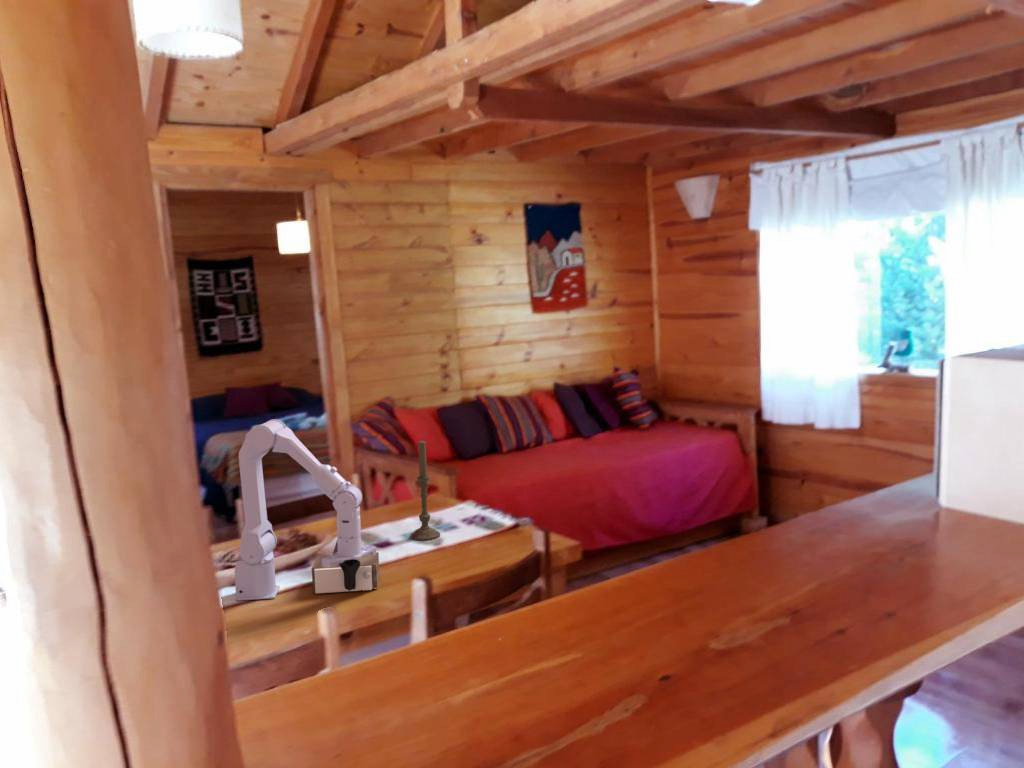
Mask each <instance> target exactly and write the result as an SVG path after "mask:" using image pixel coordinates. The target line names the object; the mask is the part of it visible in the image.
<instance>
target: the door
mask: <svg viewBox="0 0 1024 768" xmlns="http://www.w3.org/2000/svg"><path fill="white" fill-rule="evenodd" d="M314 574H315V592H316V593H315V594H327V593H342V592H343V593H345V592H359V591H361V590H362V591H373V590H372V568H371V565H370V566H360V567H359V568H358V570H357V572H356V587H355V589H352V590H350V591H349V590H347V589H345V586H344V572H343V570H342V568H341V567H338V568H322V569H315V570H314Z"/></svg>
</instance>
